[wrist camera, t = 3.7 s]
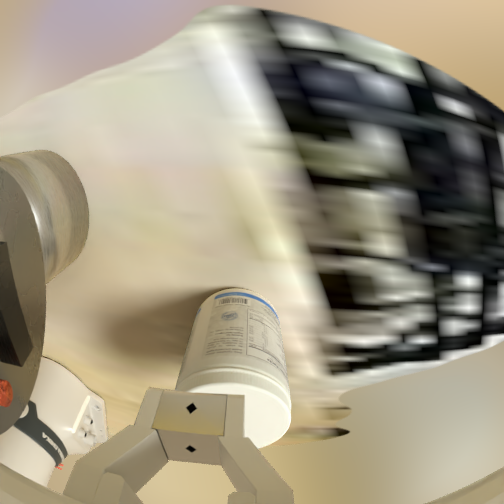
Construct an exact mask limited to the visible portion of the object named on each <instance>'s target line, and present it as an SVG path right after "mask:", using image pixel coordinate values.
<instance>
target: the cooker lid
mask: <svg viewBox="0 0 504 504" xmlns="http://www.w3.org/2000/svg"><path fill="white" fill-rule="evenodd" d="M45 318H46V285H45V270H44V260H43V252H42V247H41V240H40V236H39V231H38V227H37V224H36V220H35V217H34V214H33V211H32V208H31V206H30V203H29V201H28V199H27V197H26V195H25V193H24V191H23V190H22V188H21V186H20V185H19V184H18V182H17V181H16V180H15V179H14V177H12V176H11V175H10V174H9V173H8V172H7V171H6V170H4V169H3V168H1V167H0V435H1V434H3V433H4V432H6V431H7V430H8V429H9V428H11V427H12V426H13V425H14V424H15V422H16V421H17V420H18V419H19V418H20V416H21V414H22V413H23V411H24V410H25V408H26V406H27V404H28V402H29V399H30V397H31V394H32V392H33V389H34V386H35V382H36V379H37V375H38V371H39V367H40V362H41V356H42V350H43V343H44V333H45Z"/></svg>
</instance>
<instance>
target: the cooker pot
mask: <svg viewBox="0 0 504 504" xmlns="http://www.w3.org/2000/svg"><path fill="white" fill-rule="evenodd" d="M0 167H1V168H3V169H4V170H6V171H7V172H8V173H9V174H10V175H11V176H12V177H14V179H15V180H16V181H17V182H18V184H19V185H20V186H21V188H22V190H23V191H24V193H25V195H26V197H27V199H28V201H29V203H30V206H31V208H32V211H33V214H34V217H35V220H36V224H37V227H38V231H39V236H40V240H41V247H42V252H43V260H44V270H45V285H46V284H47V283H48V282H49V281H51V280H52V279H53V278H54V277H55V276H56V275H58V274H59V273H60V272H61V271H63V270H64V269H65V268H66V267H67V266H69V265H70V264H71V263H72V262H74V260H75V259H76V258H77V257H78V256H79V254H80V253H81V251H82V249H83V247H84V245H85V242H86V239H87V234H88V228H89V210H88V203H87V198H86V194H85V191H84V188H83V186H82V183H81V181H80V179H79V177H78V175H77V173H76V172H75V170H74V169H73V168H72V166H71V165H70V164H69V163H68V162H67V161H66V160H65V159H64V158H63V157H61V156H60V155H58V154H56V153H54V152H51V151H47V150H35V151H29V152H23V153H17V154H11V155H6V156H1V157H0Z"/></svg>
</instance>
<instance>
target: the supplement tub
mask: <svg viewBox="0 0 504 504" xmlns="http://www.w3.org/2000/svg"><path fill="white" fill-rule="evenodd" d="M175 391H183V392H192V393H196V392H197V393H215V394H236V395H245V437H249V438H250V440H251V441H252V442H253V444H254V445H255V446H256V447H257V449H259V448H262V447H265V446H267V445H270V444H272V443H273V442H275V441H277V440H278V439H279V438H281V437H282V436H283V435H284V434H285V433H286V431H287V430H288V428H289V426H290V422H291V412H290V411H291V399H290V390H289V383H288V376H287V369H286V362H285V355H284V348H283V341H282V335H281V328H280V322H279V317H278V314H277V312H276V310H275V308H274V306H273V305H272V304H271V303H270V302H269V301H268V300H267V299H266V298H265V297H263V296H262V295H260V294H258V293H256V292H254V291H251V290H247V289H240V288H233V289H226V290H222V291H219V292H217V293H215V294H213V295H211V296H210V297H208V298H207V299H206V300H205V301H204V302H203V303H202V305H201V306H200V308H199V310H198V312H197V315H196V318H195V321H194V324H193V328H192V331H191V334H190V338H189V341H188V345H187V348H186V352H185V355H184V359H183V362H182V366H181V369H180V373H179V376H178V380H177V384H176V388H175Z"/></svg>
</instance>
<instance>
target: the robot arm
mask: <svg viewBox="0 0 504 504" xmlns="http://www.w3.org/2000/svg"><path fill="white" fill-rule="evenodd" d="M96 442H97V443H103V444H101V445H100V446H99V447H97V448H95V449H94V450H92V451H91V452H89V450H90V449H91V447H92V446H95V444H96ZM88 452H89V453H88ZM86 453H88V454H86ZM72 454H86V455H85V456H83V457H82V458H80V459H79V460H77V461H76V463H75V465H74V468H73V470H72V472H71V475H70V477H69V480H68V482H67V485H66V487H65V490H64V492H63V494H61V493H58V492H56V491H54V490H51V489H49V488H47V485H48V482H49V479H50V477H51V474H52V472H53V469H54V467H56V468H58V469H61V468H60V467H58V465H59V466H63V464H60V463H61V462H63V460H64V459H65V458H66V456H67V455H72ZM168 460H173V461H182V462H193V463H202V464H211V465H222V468H223V469H224V471H225V473H226V474H227V476H228V477H229V479H230V481H231V482H232V484H233V485H234V487H235V488H236V490H237V492H233V493H231V494H230V495H229V496H228V504H294V498H293V490H292V489H291V488H290V487H289V486H288V485H287V483H286V482H285V481H284V480H283V479H282V478H281V476H280V475H279V474H278V473H277V472H276V471H275V469H274V468H273V467H272V466H271V465H270V463H269V462H268V461H267V460H266V459H265V457H264V456H263V455H262V454H261V452H260V451H259V450H258V449H257V447H256V446H255V445H254V444H253V442H252V441H251V440H250V438H249V437H245V395H236V394H215V393H197V392H196V393H192V392H183V391H175V390H167V389H159V388H152V387H149V388H148V390H147V391H146V393H145V396H144V399H143V402H142V404H141V407H140V410H139V413H138V415H137V418H136V421H135V424H134V426H133V425H129V426H127V427H126V428H124V429H123V430H122V431H120V432H119V433H117V434H116V435H114V436H113V437H112V438H110V439H109V440H108V432H107V423H106V413H105V402H104V400H103V399H102V398H101V397H99V396H98V395H96V394H95V393H93V392H92V391H90V390H89V389H88V388H87V387H86V386H85V385H84V384H83V383H82V382H81V381H80V380H79V379H78V378H77V377H76V376H75V375H73V374H72V373H71V372H70V371H68V370H67V369H66V368H64V367H63V366H61V365H60V364H58V363H56V362H54V361H52V360H50V359H47V358H44V357H41V362H40V367H39V371H38V375H37V379H36V382H35V386H34V389H33V392H32V394H31V397H30V399H29V402H28V404H27V406H26V408H25V410H24V411H23V413H22V414H21V416H20V418H19V419H18V420H17V421H16V422H15V424H14V425H13V426H12V427H11V428H9V429H8V430H7V431H6V432H4V433H3V434H1V435H0V504H143V503H142V501H141V500H140V499H139V498H138V497H137V495H136V493H137V492H138V491H139V490H140V489H141V488H142V487H143V486H144V485H145V484H146V483H147V482H148V481H149V480H150V479H151V478H152V477H153V476H154V475H155V474H156V473H157V472H158V471H159V470H160V469H161V468H162V467H163V466H164V465H165V464H166V463H167V462H168ZM425 504H504V467H502V468H501V469H499V470H497V471H495V472H493V473H492V474H490V475H488V476H486V477H485V478H482V479H480V480H478V481H476V482H474V483H472V484H470V485H468V486H466V487H464V488H462V489H460V490H458V491H455V492H453V493H451V494H448V495H446V496H443V497H441V498H439V499H436V500H433V501H431V502H428V503H425Z"/></svg>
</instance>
